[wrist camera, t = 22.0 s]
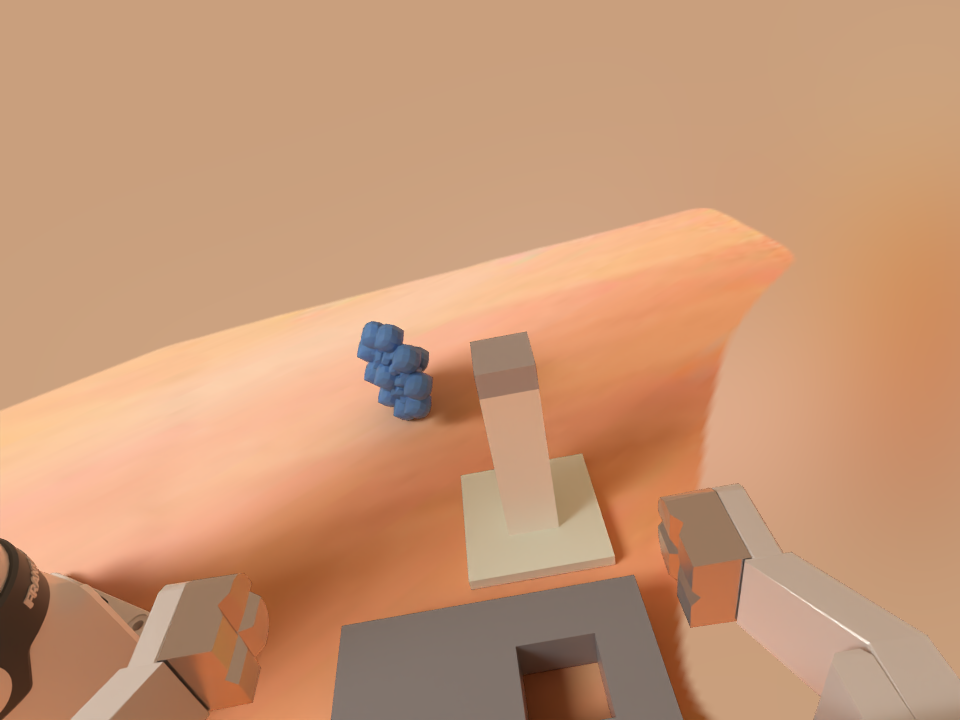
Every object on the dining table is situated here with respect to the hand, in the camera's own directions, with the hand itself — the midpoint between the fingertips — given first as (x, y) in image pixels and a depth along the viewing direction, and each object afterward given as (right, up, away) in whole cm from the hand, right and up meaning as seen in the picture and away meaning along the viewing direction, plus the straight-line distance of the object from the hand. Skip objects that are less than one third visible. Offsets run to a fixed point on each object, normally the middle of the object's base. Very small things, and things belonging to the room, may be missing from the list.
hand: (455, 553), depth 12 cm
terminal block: (+2, -19, +26) cm, 32 cm away
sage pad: (+5, -9, +38) cm, 39 cm away
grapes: (-6, -2, +52) cm, 53 cm away
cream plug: (+5, -9, +37) cm, 39 cm away
